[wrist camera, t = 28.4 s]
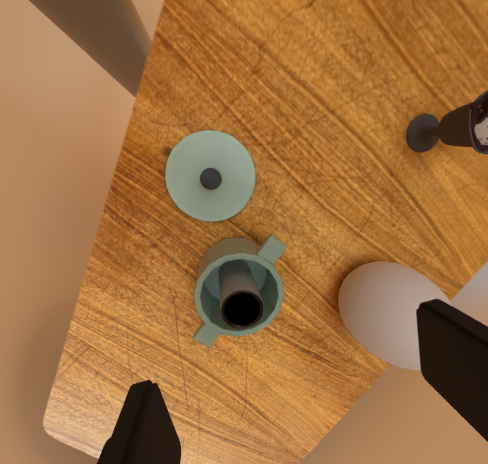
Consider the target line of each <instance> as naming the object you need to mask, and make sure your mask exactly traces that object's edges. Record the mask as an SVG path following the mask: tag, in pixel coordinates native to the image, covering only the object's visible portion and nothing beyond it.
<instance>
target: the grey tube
mask: <svg viewBox="0 0 488 464" xmlns="http://www.w3.org/2000/svg"><path fill="white" fill-rule="evenodd" d="M219 289H220V309H221V316H222V318H223V320H224V322H225V323H226V324H227V325H229V326H230V327H232V328H235V329H247V328H250V327H252V326H254V325H255V324H256V323H257V322H258V321H259V320H260V319H261V317H262V315H263V311H264V306H263V302H262V299H261V296H260V294H259V291H258V288H257V286H256V283H255V280H254V278H253V275H252V272H251V269H250V267H249V266H248V264H247V263H246V262H245V261H243V260H241V259H237V260H232V261H226V262H224V263H223V264H222V266H221V267H220V270H219Z"/></svg>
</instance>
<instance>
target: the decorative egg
mask: <svg viewBox="0 0 488 464" xmlns="http://www.w3.org/2000/svg"><path fill="white" fill-rule="evenodd" d="M433 299H440V300H442V301H444V302H446V303H447V304H449V305H451V306H453V305H452V304H451V302H450V301H449V299H448V298H447V297H446V295H445V294H444V293H443V292H442V291H441V289H440V288H439V287H438V286H437V285H435V284H434V283H433V282H432V281H431V280H429V279H428V278H427V277H426V276H424V275H423V274H421V273H419V272H418V271H416V270H414V269H412V268H410V267H407V266H404V265H402V264H398V263H393V262H385V261H379V262H371V263H367V264H364V265H361V266H359V267H357V268H356V269H354V270H353V271H351V272H350V273H349V274H348V275H347V277H346V278H345V279H344V281H343V283H342V285H341V287H340V290H339V295H338V306H339V311H340V315H341V318H342V320H343V323H344V324H345V326H346V328H347V330H348V331H349V333H350V334H351V335H352V336H353V338H354V339H355V340H356V341H357V342H358V343H359V344H360V345H361V346H362V347H363V348H365V349H366V350H367V351H368V352H370V353H371V354H373V355H374V356H376V357H377V358H379V359H381V360H383V361H385V362H387V363H389V364H391V365H394V366H397V367H400V368H405V369H409V370H416V371H421V367H420V355H419V343H418V330H417V318H416V310H417V309H418V308H419V305H420V303H422V302H426V301H429V300H433Z"/></svg>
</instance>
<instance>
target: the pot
mask: <svg viewBox="0 0 488 464" xmlns="http://www.w3.org/2000/svg"><path fill="white" fill-rule="evenodd" d="M286 248H287V246H286V245H285V244H284V243H283V242H281V241H280V240H279V239H277V238H276V237H274V236H273V235H272V234H269V236H268V237H267V238H266V239H265V241H264V242H263V243H262V245H261V246H259V245H257V244H256V243H254V242H253V241H251V240H248V239H245V238H239V237H233V238H227V239H223V240H220V241H218V242H216V243H215V244H213V245H212V246H211V247H210V248H208V249H207V251H206V252H205V253H204V255H203V256H202V258H201V260H200V263H199V268H198V272H197V278H196V284H195V291H194V301H195V305H196V310H197V313H198V315H199V316H200V317H201V319H202V320H203V322H202V324H201V325H200V326H199V328H198V329H197V330H196V332H195V333H194V335H193V339H195V340H196V341H198V342H200V343H202V344H203V345H205V346H207V347H210V346H211V345H212V343H213V342H214V341H215V340H216V338H217V337H218V336H219V334H224V335H231V336H238V337H239V336H244V335H249V334H254V333H256V332H258V331H259V330H261V329H263V328H264V327H266V326H268V325H269V324H270V323H271V322H272V320H273V319H274V318H275V317H276V315H277V314H278V313H279V311H280V308H281V305H282V301H283V298H284V291H283V282H282V279H281V277H280V276H279V274H278V272H277V271H276V269H275V267H274V266H273V265H274V263H275V262H276V261H277V259H278V258H279V257H280V256H281V254H282V253H283V252H284V250H285V249H286ZM237 259H241V260H243V261H245V262H246V263H247V264H248V266H249V267H250V269H251V272H252V275H253V278H254V280H255V283H256V286H257V288H258V291H259V294H260V296H261V299H262V302H263V306H264V311H263V315H262V317H261V319H260V320H259V321H258V322H257V323H256V324H255V325H254V326H252V327H250V328H247V329H235V328H232V327H230V326H229V325H227V324H226V323H225V322H224V320H223V318H222V316H221V309H220V289H219V270H220V267H221V266H222V264H223V263H224V262H226V261H232V260H237Z"/></svg>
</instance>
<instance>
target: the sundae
mask: <svg viewBox="0 0 488 464" xmlns="http://www.w3.org/2000/svg"><path fill="white" fill-rule="evenodd" d="M439 137H440V139H441V141H442V142H443V143H445V144H447V145H452V146H462V147H473V148H474V149H475V151H477V152H478V153H482V154H488V90H487V91H486V92H484V93H483V94H482V95H480V96H479V97H478V98H477V99H476V100H475V101H474V102H472V103H469V104H467V105H464V106H462V107H459V108H457V109H455V110H453V111H451V112H449V113H448V114H446V115H445V116H444V117H443V118H442V120H441V122H440V124H439V122H438V120H437V119H436V118H435V117H434V116H432V115H430V114H422V115H419V116H417V117H416V118H415V119H414V120H413V121H412V122H411V123H410V125H409V127H408V130H407V142H408V144H409V146H410V147H411V148H412V149H413V150H415V151H417V152H425V151H428V150H430V149H431V148H432V147H433V146H434V145H435V144H436V143H437V141H438V139H439Z"/></svg>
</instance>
